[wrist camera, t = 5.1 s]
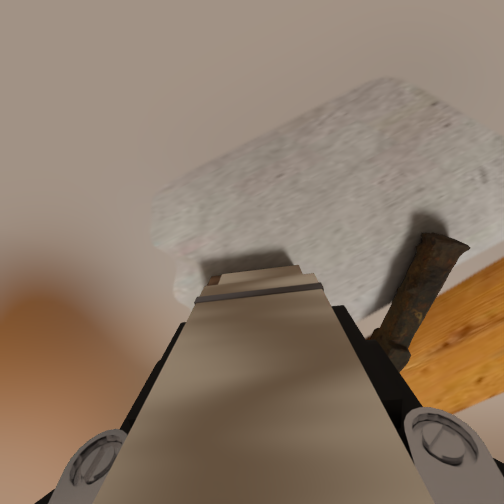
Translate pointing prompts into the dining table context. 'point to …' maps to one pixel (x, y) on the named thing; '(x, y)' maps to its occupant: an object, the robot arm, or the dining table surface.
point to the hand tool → (417, 295)
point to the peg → (263, 408)
